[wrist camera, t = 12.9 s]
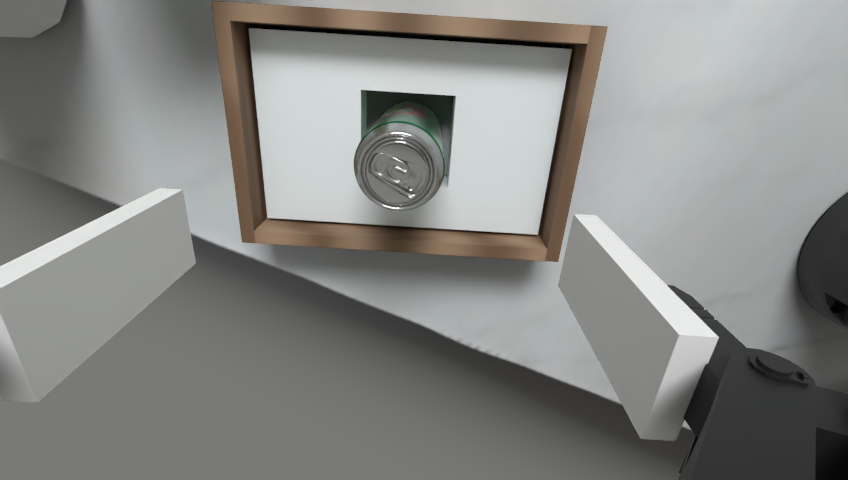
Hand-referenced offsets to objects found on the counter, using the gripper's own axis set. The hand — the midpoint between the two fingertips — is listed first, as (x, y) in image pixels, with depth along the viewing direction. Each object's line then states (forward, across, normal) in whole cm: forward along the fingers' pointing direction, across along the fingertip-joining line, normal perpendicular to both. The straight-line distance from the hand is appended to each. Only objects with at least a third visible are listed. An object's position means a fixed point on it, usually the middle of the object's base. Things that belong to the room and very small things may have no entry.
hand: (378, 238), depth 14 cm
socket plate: (+21, 0, 0) cm, 21 cm away
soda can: (+21, 0, 0) cm, 21 cm away
